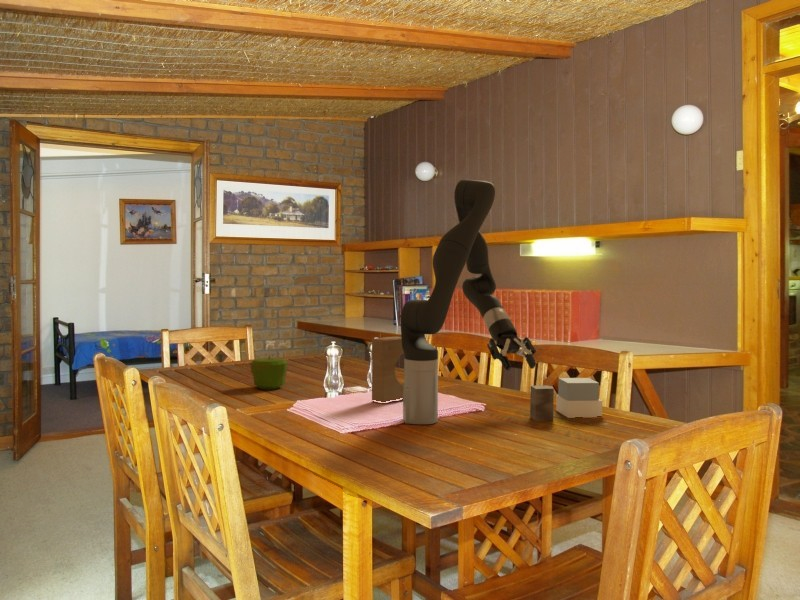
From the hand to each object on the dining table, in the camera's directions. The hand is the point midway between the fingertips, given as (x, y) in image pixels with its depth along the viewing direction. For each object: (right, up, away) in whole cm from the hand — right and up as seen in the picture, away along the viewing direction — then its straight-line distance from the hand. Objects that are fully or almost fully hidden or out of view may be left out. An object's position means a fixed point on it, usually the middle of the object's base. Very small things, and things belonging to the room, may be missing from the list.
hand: (521, 367), depth 196 cm
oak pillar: (+4, -14, -8) cm, 16 cm away
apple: (-81, -11, +40) cm, 92 cm away
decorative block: (-39, -12, +18) cm, 44 cm away
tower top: (+16, -9, -1) cm, 18 cm away
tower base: (+16, -14, -1) cm, 21 cm away
